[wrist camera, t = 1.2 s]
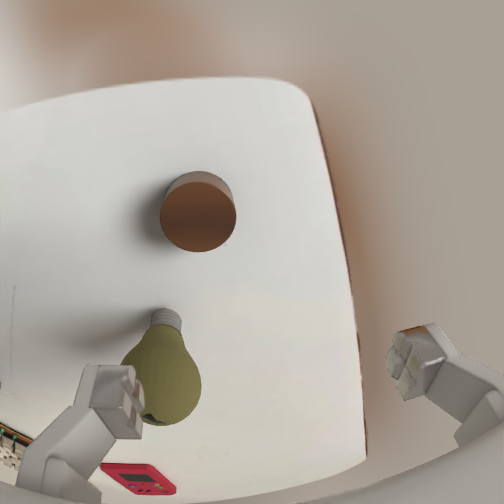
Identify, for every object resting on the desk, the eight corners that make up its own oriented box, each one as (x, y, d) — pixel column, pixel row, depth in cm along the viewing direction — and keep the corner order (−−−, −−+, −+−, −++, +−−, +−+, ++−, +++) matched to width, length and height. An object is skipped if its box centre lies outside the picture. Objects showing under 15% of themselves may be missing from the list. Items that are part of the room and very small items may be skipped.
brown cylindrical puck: (164, 170, 19) (159, 181, 17) (236, 172, 20) (239, 183, 18) (164, 234, 22) (160, 251, 20) (230, 236, 22) (233, 253, 20)
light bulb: (126, 327, 25) (106, 427, 17) (142, 277, 23) (117, 383, 14) (187, 345, 27) (186, 446, 18) (210, 299, 25) (216, 407, 16)
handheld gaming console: (135, 495, 46) (98, 469, 38) (136, 490, 47) (99, 462, 39) (180, 496, 46) (150, 471, 38) (180, 490, 47) (151, 463, 40)
